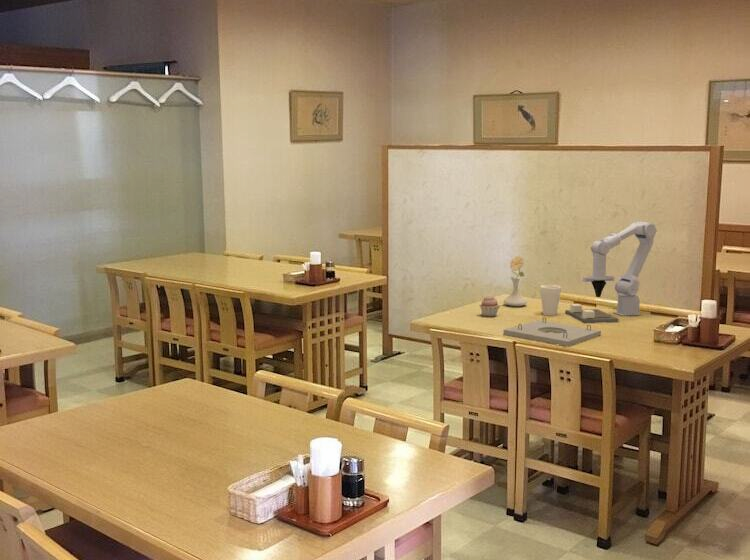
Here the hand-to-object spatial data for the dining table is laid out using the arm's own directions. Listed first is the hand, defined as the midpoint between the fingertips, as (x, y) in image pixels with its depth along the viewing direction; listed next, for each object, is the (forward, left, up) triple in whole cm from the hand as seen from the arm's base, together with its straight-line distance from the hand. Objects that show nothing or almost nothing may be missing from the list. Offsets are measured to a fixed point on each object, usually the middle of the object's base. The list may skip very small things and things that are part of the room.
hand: (598, 296), depth 378 cm
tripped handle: (+8, +9, -8) cm, 14 cm away
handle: (+8, -5, -8) cm, 12 cm away
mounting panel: (+35, +33, -10) cm, 49 cm away
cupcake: (+49, -9, -10) cm, 50 cm away
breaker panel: (+4, +2, -9) cm, 10 cm away
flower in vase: (+29, -30, -10) cm, 43 cm away
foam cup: (+20, -8, -10) cm, 23 cm away
